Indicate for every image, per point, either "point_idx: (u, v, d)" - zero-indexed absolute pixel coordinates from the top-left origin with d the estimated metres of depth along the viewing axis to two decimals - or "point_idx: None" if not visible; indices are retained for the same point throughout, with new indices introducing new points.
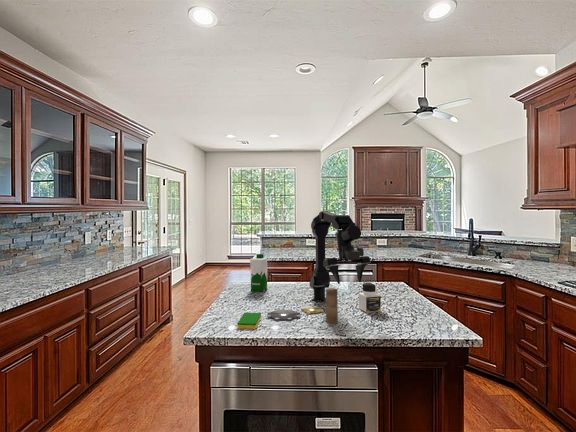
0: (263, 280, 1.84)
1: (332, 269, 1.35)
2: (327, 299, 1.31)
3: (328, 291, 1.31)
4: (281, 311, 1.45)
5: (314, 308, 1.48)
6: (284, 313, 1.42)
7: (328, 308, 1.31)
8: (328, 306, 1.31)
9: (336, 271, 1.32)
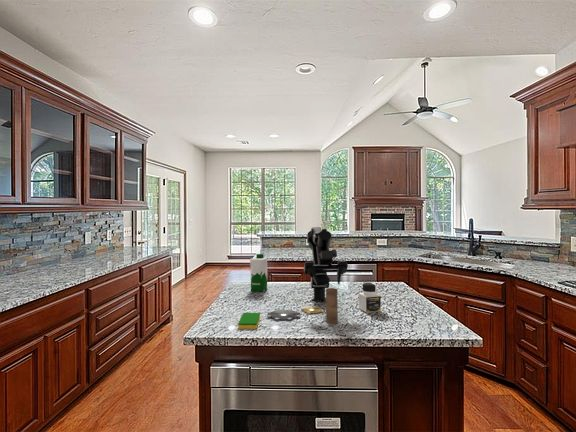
0: (263, 280, 1.84)
1: (312, 274, 1.45)
2: (327, 299, 1.31)
3: (328, 291, 1.31)
4: (281, 311, 1.45)
5: (314, 308, 1.48)
6: (284, 313, 1.42)
7: (328, 308, 1.31)
8: (328, 306, 1.31)
9: (314, 273, 1.42)
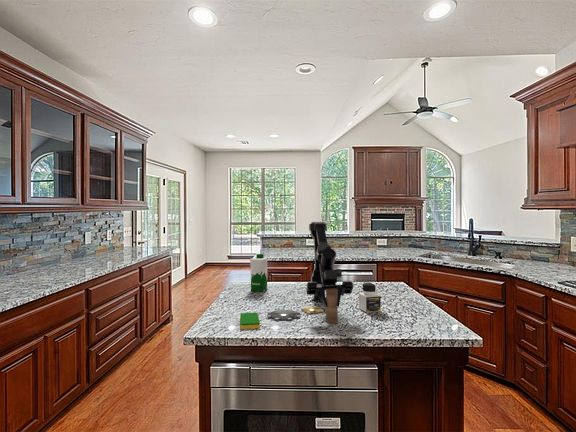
0: (263, 280, 1.84)
1: (320, 295, 1.36)
2: (327, 299, 1.31)
3: (328, 291, 1.31)
4: (281, 311, 1.45)
5: (314, 308, 1.48)
6: (284, 313, 1.42)
7: (328, 308, 1.31)
8: (328, 306, 1.31)
9: (322, 294, 1.33)
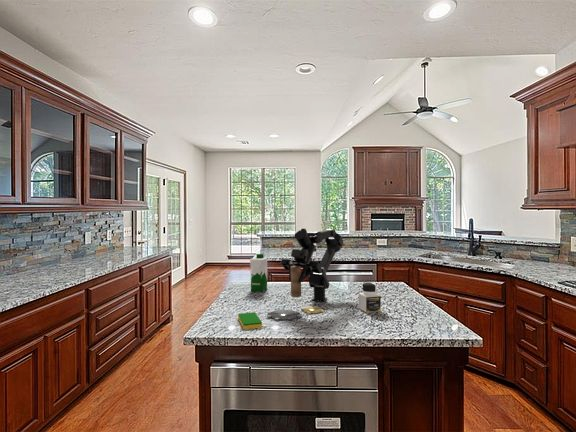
0: (263, 280, 1.84)
1: None
2: None
3: None
4: (281, 311, 1.45)
5: (314, 308, 1.48)
6: (284, 313, 1.42)
7: (291, 282, 1.47)
8: None
9: (290, 270, 1.50)
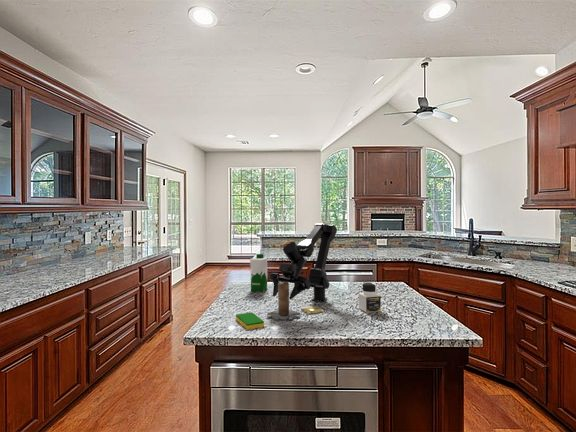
0: (263, 280, 1.84)
1: None
2: (278, 291, 1.41)
3: (278, 284, 1.41)
4: None
5: (314, 308, 1.48)
6: None
7: (278, 300, 1.41)
8: (278, 298, 1.41)
9: (274, 284, 1.45)
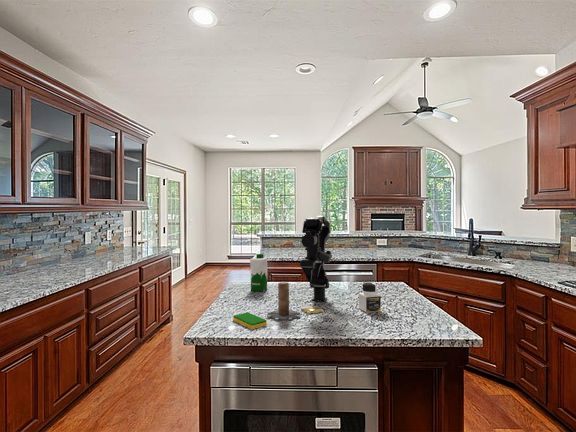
0: (263, 280, 1.84)
1: (305, 268, 1.46)
2: None
3: (278, 284, 1.41)
4: None
5: (314, 308, 1.48)
6: None
7: (278, 300, 1.41)
8: (278, 298, 1.41)
9: (311, 271, 1.46)
